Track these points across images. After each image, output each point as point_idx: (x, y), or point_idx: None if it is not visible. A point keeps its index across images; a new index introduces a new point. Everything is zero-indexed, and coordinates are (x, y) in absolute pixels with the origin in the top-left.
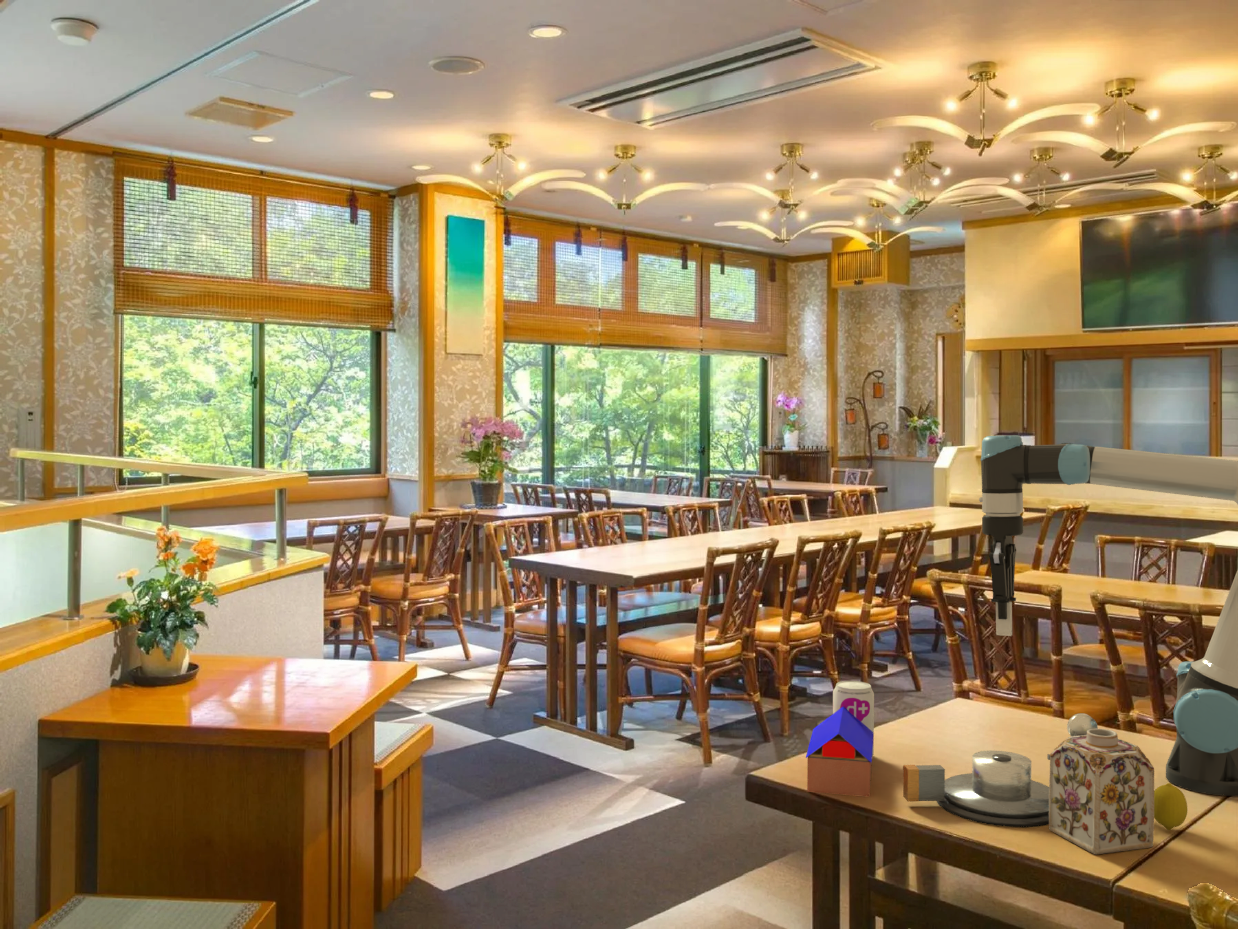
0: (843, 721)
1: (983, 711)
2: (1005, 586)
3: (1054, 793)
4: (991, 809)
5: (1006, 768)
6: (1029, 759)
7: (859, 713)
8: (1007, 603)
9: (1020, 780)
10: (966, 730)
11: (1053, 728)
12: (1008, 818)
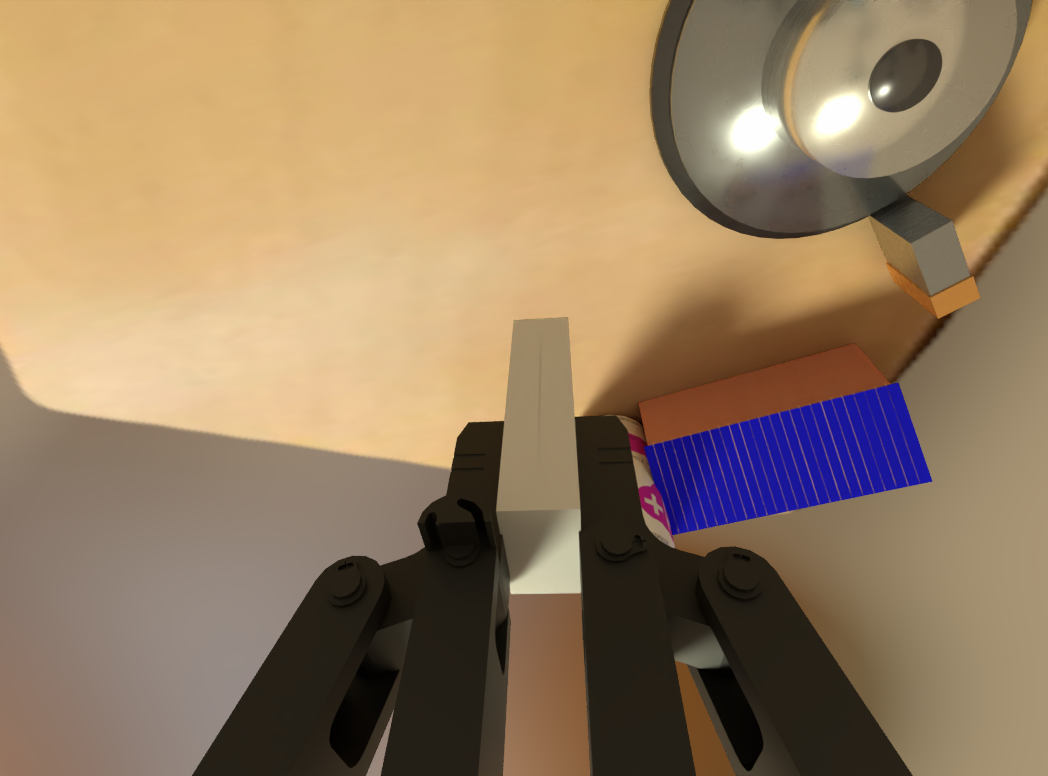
0: (792, 502)
1: (67, 343)
2: (877, 756)
3: None
4: (1019, 40)
5: (1016, 24)
6: None
7: (659, 500)
8: (578, 519)
9: None
10: (253, 328)
11: (12, 143)
12: None
